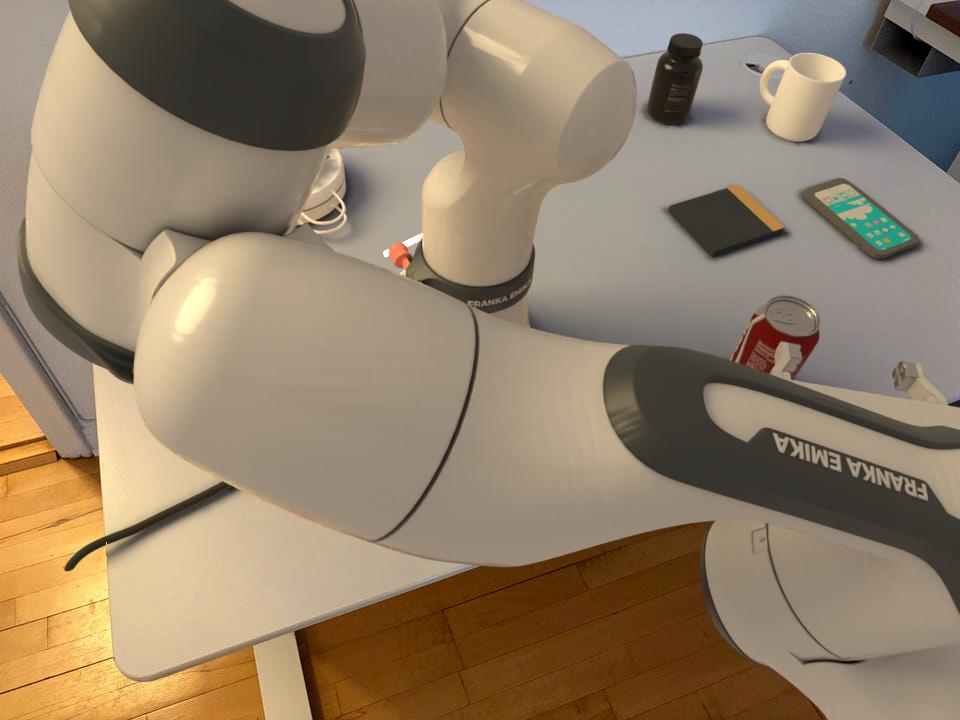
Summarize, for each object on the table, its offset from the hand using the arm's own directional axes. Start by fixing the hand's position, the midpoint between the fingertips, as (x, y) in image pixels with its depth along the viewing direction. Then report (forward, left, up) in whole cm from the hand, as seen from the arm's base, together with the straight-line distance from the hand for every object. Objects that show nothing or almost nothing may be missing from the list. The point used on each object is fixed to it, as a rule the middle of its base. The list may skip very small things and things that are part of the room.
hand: (846, 357), depth 58 cm
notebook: (+22, +34, -20) cm, 45 cm away
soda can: (+7, +10, -20) cm, 24 cm away
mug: (+46, +50, -20) cm, 71 cm away
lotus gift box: (-30, +61, -20) cm, 71 cm away
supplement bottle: (+30, +59, -20) cm, 69 cm away
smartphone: (+40, +27, -20) cm, 52 cm away
